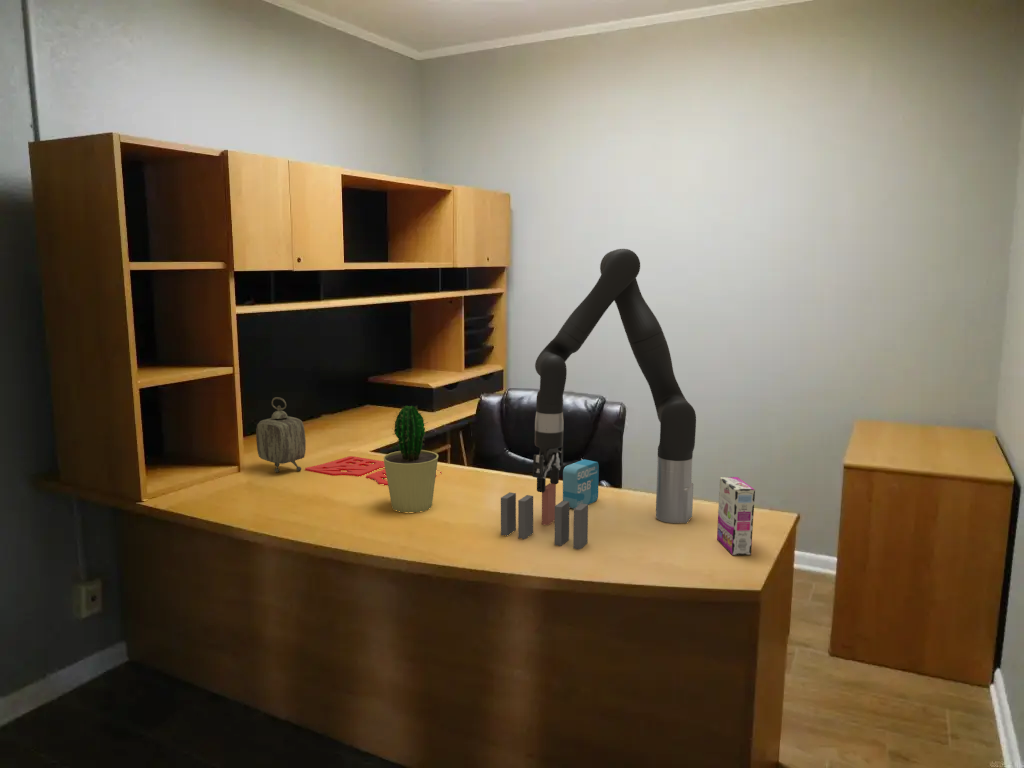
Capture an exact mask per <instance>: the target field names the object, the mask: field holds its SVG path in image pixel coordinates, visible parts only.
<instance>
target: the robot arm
mask: <svg viewBox="0 0 1024 768" xmlns="http://www.w3.org/2000/svg"><path fill="white" fill-rule="evenodd" d="M599 269H600V270H599V271H600V275H599V278H598V280H597V282H596V283H595V285H594V286H593V288H592V289H591V290H590V292H589V293H588V294H587V296H585V298H584V299H583V300H582V301H581V302H580V303H579V305H577V307H576V308H575V309H574V310H573V311H572V313H571V314H570V315H569V316H568V318H567V319H566V320H565V322H564V323H563V324H562V326H561V327H560V329H559V331H558V333H557V334H556V335H555V336H554V338H553V339H551V340H550V342H549V343H547V345H546V346H545V347H544V348H543V349H542V351H541V352H540V353H539V354H538V356H537V357H536V360H535V364H534V369H535V371H536V373H537V374H538V375H539V376H540V378H539V390H538V391H537V393H536V401H535V402H536V404H535V405H536V406H535V407H536V408H535V411H536V412H535V418H534V446H536V447H537V448H539V453H538V454H533V459H532V461H533V463H532V477H533V478H536V491H537V492H538V493H541V494H542V493H543V492H545V487H546V485H547V481H546V479H547V475H548V472H549V471H550V473H549V476H550V477H549V483H551V484H556V485H557V484H559V483H560V482H559V481H560V480H559V477H560V470H561V467H563V466H564V392H565V387H566V382H567V370H568V369H567V365H566V361H567V360H568V359H569V358H570V357H571V355H572V354H575V353H577V352H578V351H579V350H580V348H581V347H582V346H583V345H584V344H585V341H586V340H587V339H588V337H589V336H590V335H591V334H592V332H593V330H594V329H595V327H596V326H597V324H598V323H599V321H600V320H601V318H602V317H603V316H604V314H605V313H606V311H607V310H608V309H609V308H610V307H611V305H612V303H613V302H615V305H616V307H617V310H618V313H619V317H620V320H621V323H622V326H623V329H624V332H625V335H626V338H627V340H628V343H629V345H630V347H631V351H632V354H633V355H634V358H635V360H636V363H637V365H638V367H639V368H640V372H641V373H642V375H643V376H644V378H645V380H646V383H647V384H648V386H649V389H650V391H651V392H650V393H651V396H652V399H653V403H654V407H655V411H656V415H657V419H658V421H659V423H660V425H659V427H660V430H659V431H660V433H659V444H658V446H657V461H656V462H657V464H656V490H655V491H656V494H655V496H656V497H655V518H656V519H657V520H658V521H661V522H663V523H668V524H688V523H687V522H689V521H690V520H691V519H692V518H693V505H694V504H693V503H694V483H693V482H692V479H693V478H692V477H693V476H692V474H693V458H694V457H693V454H694V449H695V445H696V444H695V443H696V430H697V415H696V410H695V409H694V407H693V406H692V405H691V404H690V402H689V401H688V400H687V398H685V396H684V394H683V392H682V389H681V387H680V385H679V383H678V381H677V379H676V375H675V372H674V368H673V360H672V355H671V351H670V349H669V345H668V342H667V339H666V337H665V333H664V331H663V329H662V327H661V324H660V323H659V320H658V319H657V316H655V314H654V313H653V311H652V309H651V307H650V306H649V305H648V304H647V302H646V300H645V299H644V297H643V294H642V291H641V289H640V286H639V284H638V280H637V277H638V275H639V274H640V270H641V260H640V258H639V257H638V254H637V253H636V252H635V251H633V250H631V249H628V248H617V249H614V250H610V251H609V252H607V253H605V255H604V256H602V259H601V261H600V264H599ZM691 517H692V518H691ZM690 518H691V519H690ZM689 519H690V520H689Z"/></svg>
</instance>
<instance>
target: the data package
mask: <svg viewBox="0 0 1024 768" xmlns="http://www.w3.org/2000/svg"><path fill="white" fill-rule="evenodd" d="M599 468H600V467H599V462H598V461H594V460H589V459H581V460H578V461H576V462H574V463H570V464H568V465H566V466H565V467H564V468H563V471H562V501H569V509H572V510H574V509H575V508H576V507H577V506H579V505H580V504H581V503H582V504H588V506H590V505H591V504H593V503H595V502H597V500H598V498H599V478H600V477H599V474H600V473H599V472H600V469H599Z"/></svg>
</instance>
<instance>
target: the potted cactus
mask: <svg viewBox="0 0 1024 768" xmlns="http://www.w3.org/2000/svg"><path fill="white" fill-rule="evenodd" d="M422 413H424V411H421V412H420V410H419V409H418V407H417V405H415V406H414V405H412V404H411V406H410V405H409V406H408V405H405V406H403V407H401V409H399V410H398V412H395V415H396V416H395V415H394V416H393V418H394V426H393V427H392V428H391V430H393V433H392V435H393V436H395V438H397V441H396V443H397V444H398V448H399V450H398V451H394V452H390V453H388V454H385V455H384V456H383V461H384V465H385V468H384V469H385V470H386V476H387V479H386V480H387V481H388V486H387V487H388V491H389V493H388V494H389V497H390V502H391V503H390V504H391V508H392V510H393V509H394V510H393V511H395V510H397V511H400V512H399V513H401V512H419V513H421V512H420V511H423V512H426V511H425V510H427V509H429V508H430V509H431V508H432V507H431V506H433V500H434V493H435V492H434V491H435V484H436V470H437V469H438V460H439V454H438V453H436V452H435V451H434V452H433V451H431V450H425V449H423V446H424V443H423V441H424V440H425V438H424V437H425V436H426V435H425V434H426V430H427V429H428V427H426V426H425V425H426V424H427V422H425V420H426V419H424V416H423V415H422ZM424 422H425V423H424ZM437 471H438V470H437ZM430 509H429V510H430ZM397 511H396V512H397ZM427 511H428V510H427Z"/></svg>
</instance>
